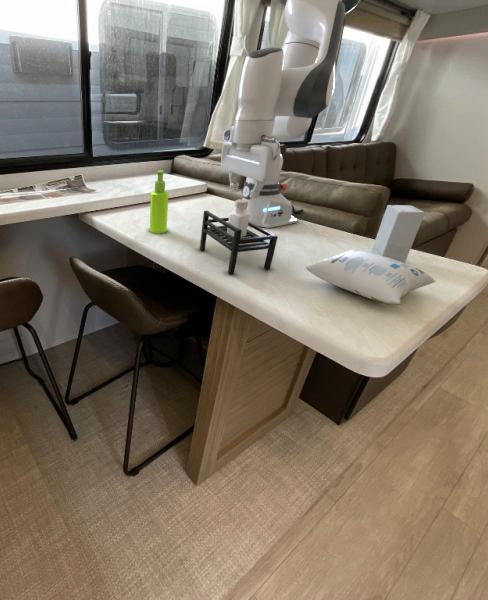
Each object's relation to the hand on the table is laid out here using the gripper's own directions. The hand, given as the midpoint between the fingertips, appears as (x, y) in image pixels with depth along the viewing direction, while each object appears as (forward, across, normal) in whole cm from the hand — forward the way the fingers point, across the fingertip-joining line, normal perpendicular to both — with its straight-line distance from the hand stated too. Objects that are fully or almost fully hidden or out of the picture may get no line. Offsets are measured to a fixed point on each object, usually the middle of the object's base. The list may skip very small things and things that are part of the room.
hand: (243, 193), depth 84 cm
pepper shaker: (+11, 0, 0) cm, 11 cm away
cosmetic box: (+19, -13, -40) cm, 46 cm away
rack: (+18, 0, +1) cm, 18 cm away
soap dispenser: (+18, +30, +13) cm, 37 cm away
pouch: (+19, -24, -20) cm, 37 cm away
